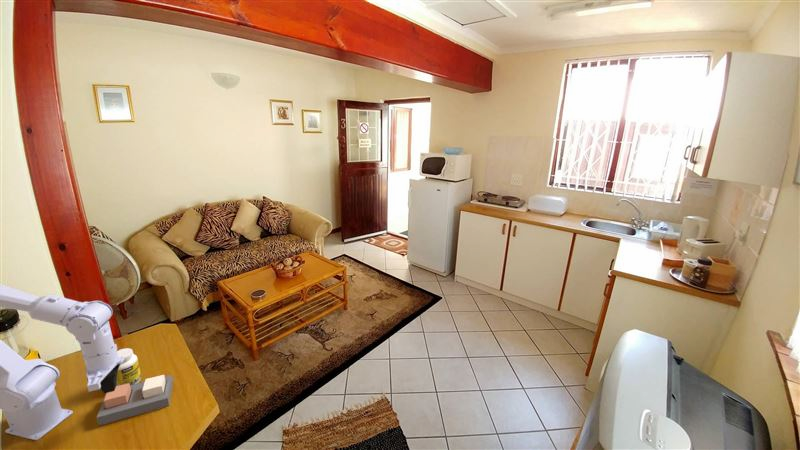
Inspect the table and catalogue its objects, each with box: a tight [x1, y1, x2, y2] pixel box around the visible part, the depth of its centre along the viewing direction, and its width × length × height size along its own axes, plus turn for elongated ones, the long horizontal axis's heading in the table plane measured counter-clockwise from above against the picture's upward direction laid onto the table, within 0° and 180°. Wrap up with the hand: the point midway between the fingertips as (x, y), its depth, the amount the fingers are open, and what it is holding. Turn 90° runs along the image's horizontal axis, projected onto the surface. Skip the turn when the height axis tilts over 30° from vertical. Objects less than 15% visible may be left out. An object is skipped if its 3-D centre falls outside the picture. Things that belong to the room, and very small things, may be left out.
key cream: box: [142, 374, 166, 399], centre depth 88 cm, size 4×4×3 cm
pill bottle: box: [116, 347, 142, 386], centre depth 92 cm, size 6×6×11 cm
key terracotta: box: [103, 383, 131, 409], centre depth 84 cm, size 4×4×3 cm
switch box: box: [96, 374, 174, 427], centre depth 87 cm, size 15×9×3 cm, turn 119°
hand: (110, 390), depth 80 cm, fingers closed
